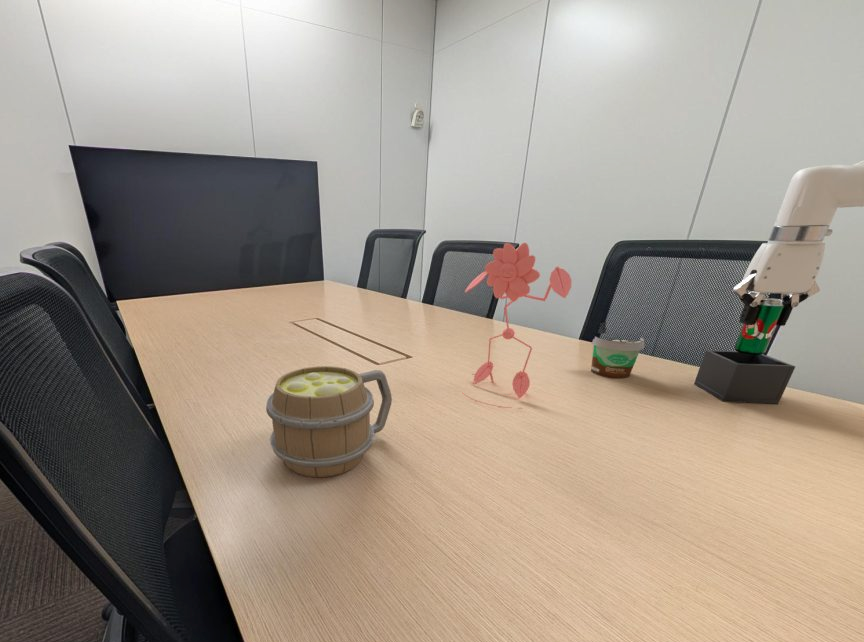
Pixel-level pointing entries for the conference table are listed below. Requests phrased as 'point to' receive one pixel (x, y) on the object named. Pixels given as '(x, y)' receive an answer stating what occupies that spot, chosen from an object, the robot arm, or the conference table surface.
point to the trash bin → (743, 377)
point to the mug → (325, 418)
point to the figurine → (515, 297)
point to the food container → (615, 357)
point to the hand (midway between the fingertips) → (761, 323)
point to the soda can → (760, 328)
